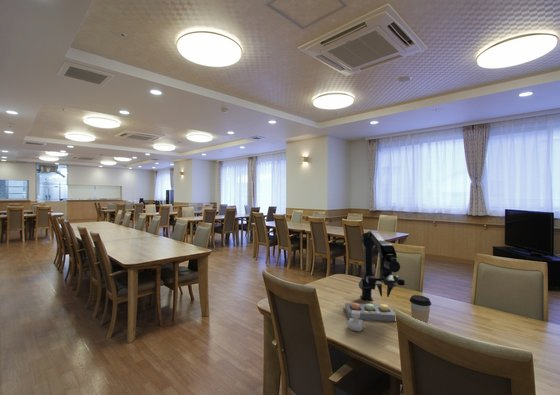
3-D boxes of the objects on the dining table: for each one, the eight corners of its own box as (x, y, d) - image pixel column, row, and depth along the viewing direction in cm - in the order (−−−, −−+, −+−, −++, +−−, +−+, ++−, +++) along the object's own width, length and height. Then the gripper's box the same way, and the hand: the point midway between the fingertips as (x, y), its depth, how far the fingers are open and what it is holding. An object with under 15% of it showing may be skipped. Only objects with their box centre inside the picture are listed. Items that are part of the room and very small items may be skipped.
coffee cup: (433, 335, 130) (434, 302, 129) (411, 332, 131) (412, 300, 131) (426, 325, 139) (427, 295, 139) (406, 323, 141) (407, 293, 141)
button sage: (364, 309, 153) (364, 303, 153) (372, 310, 152) (373, 303, 152) (366, 313, 148) (366, 306, 148) (374, 313, 148) (375, 307, 148)
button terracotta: (350, 308, 153) (350, 302, 153) (358, 309, 153) (358, 303, 153) (352, 312, 149) (352, 305, 149) (360, 312, 149) (360, 306, 149)
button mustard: (378, 310, 152) (378, 304, 152) (386, 310, 152) (387, 304, 152) (381, 313, 148) (381, 307, 148) (389, 314, 148) (389, 307, 148)
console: (344, 308, 158) (345, 302, 158) (388, 310, 156) (388, 304, 156) (348, 318, 145) (349, 312, 145) (396, 321, 143) (397, 314, 143)
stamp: (365, 328, 135) (366, 310, 135) (364, 334, 128) (365, 316, 128) (346, 324, 138) (347, 307, 138) (344, 330, 132) (345, 312, 132)
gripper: (371, 270, 142) (370, 301, 142) (409, 272, 141) (408, 303, 141) (366, 265, 153) (365, 293, 154) (401, 266, 152) (400, 295, 152)
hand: (384, 296), depth 150 cm, fingers open, 3 cm apart
